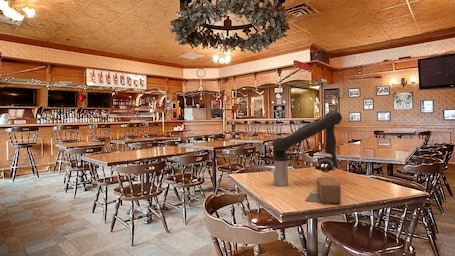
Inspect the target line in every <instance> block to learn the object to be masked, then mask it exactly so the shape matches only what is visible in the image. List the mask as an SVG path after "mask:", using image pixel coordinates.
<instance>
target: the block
mask: <svg viewBox="0 0 455 256" xmlns="http://www.w3.org/2000/svg"><path fill="white" fill-rule="evenodd" d="M316 181H317V182H316V194H318V195H319V197H320V199H321V201H322V202H323V203H322V204H327V203H332V204H341V202H342V200H341V199H342V193H341V192H342V190H341V187H342V186H341V184H340V183H339V182H338V181H337V179H335V177H325V176H324V177H323V176H322V177H321V176H320V177H317V178H316Z"/></svg>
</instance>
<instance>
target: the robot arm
mask: <svg viewBox="0 0 455 256" xmlns="http://www.w3.org/2000/svg"><path fill="white" fill-rule="evenodd" d="M342 118H343V116H342V114H341V113H340V112H338V111H329V112H326V113H325V115H324V117H323V118H320V119H318V120H314V121H312V122H309V123H308V122H307V124H304V125H302V126H301V127H299V128H298V129H296V130H295V131H293V133H291V134H290V135H287V136H284V137H276V138H275V139H274V141H273V145H272V149H273V153H272V154H273V157H274V159H273V160H274V162H273V163H274V170H273V185H274V186H276V187H278V186H279V187H286V186H289V164H288V163H289V162H288V159H289V157H288V155H287V150H289V149H290V148H291V147H293V146H295V145H296V144H298V143H302V142H303V141H305V140H308V139H310V138H311V137H313V136H315V135H317V134H320V132H321V133H322V131H324V130H325V146H324V147H325V148H324V153H326V154H327V155H328V154H329V155H331V156H332V157H331V156H323V157H322V158H321V162H320V163H319V164H314V170H317V171H320V172H324V173H328V172H330V171H335V170H336V167H337V166H338V158H337V154H336V150H337V140H336V136H335V126H336V125H338V124H340V123H341V121H342Z"/></svg>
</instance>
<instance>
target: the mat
mask: <svg viewBox="0 0 455 256" xmlns="http://www.w3.org/2000/svg"><path fill="white" fill-rule="evenodd" d="M304 201H305V202H310V203H318V204H319V203H320V204H324V203H323V202H322V201H321V199H320V197H319V195H318V193H317V192H316V193H314V192H310V194H308V196H307V197H306V199H305V200H304ZM326 204H329V205H333V203H326Z"/></svg>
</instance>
